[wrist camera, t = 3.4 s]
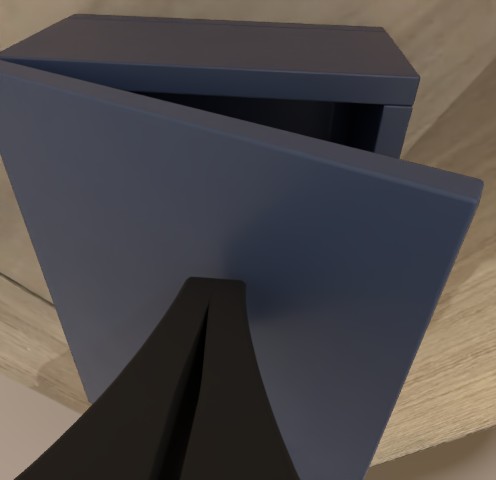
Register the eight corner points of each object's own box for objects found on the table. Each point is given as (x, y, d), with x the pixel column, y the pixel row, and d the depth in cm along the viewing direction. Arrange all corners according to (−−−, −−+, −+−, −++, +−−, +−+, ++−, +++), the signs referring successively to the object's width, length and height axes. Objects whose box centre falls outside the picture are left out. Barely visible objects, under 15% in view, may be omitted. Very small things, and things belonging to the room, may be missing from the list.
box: (383, 26, 16) (421, 76, 11) (326, 316, 25) (334, 407, 21) (73, 13, 16) (-10, 56, 12) (131, 302, 26) (97, 387, 21)
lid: (485, 178, 7) (480, 201, 7) (340, 533, 17) (332, 554, 16) (-6, 57, 12) (-34, 64, 11) (100, 389, 21) (88, 402, 21)
